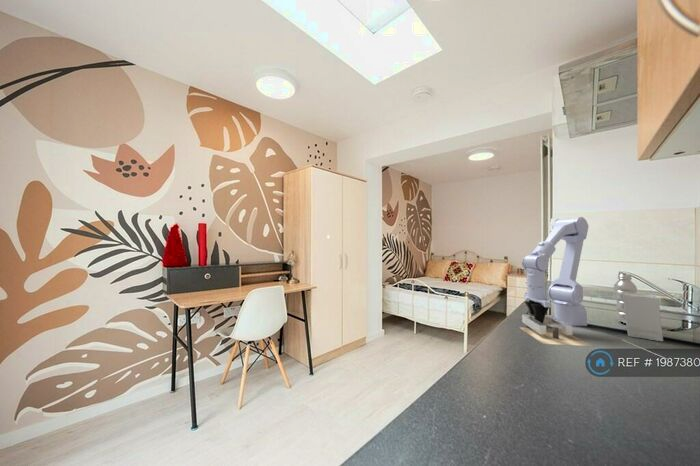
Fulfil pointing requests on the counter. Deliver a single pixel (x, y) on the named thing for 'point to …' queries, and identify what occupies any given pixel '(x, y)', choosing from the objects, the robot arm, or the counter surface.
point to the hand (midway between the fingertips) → (537, 321)
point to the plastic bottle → (622, 287)
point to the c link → (549, 320)
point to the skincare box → (643, 316)
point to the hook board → (554, 341)
